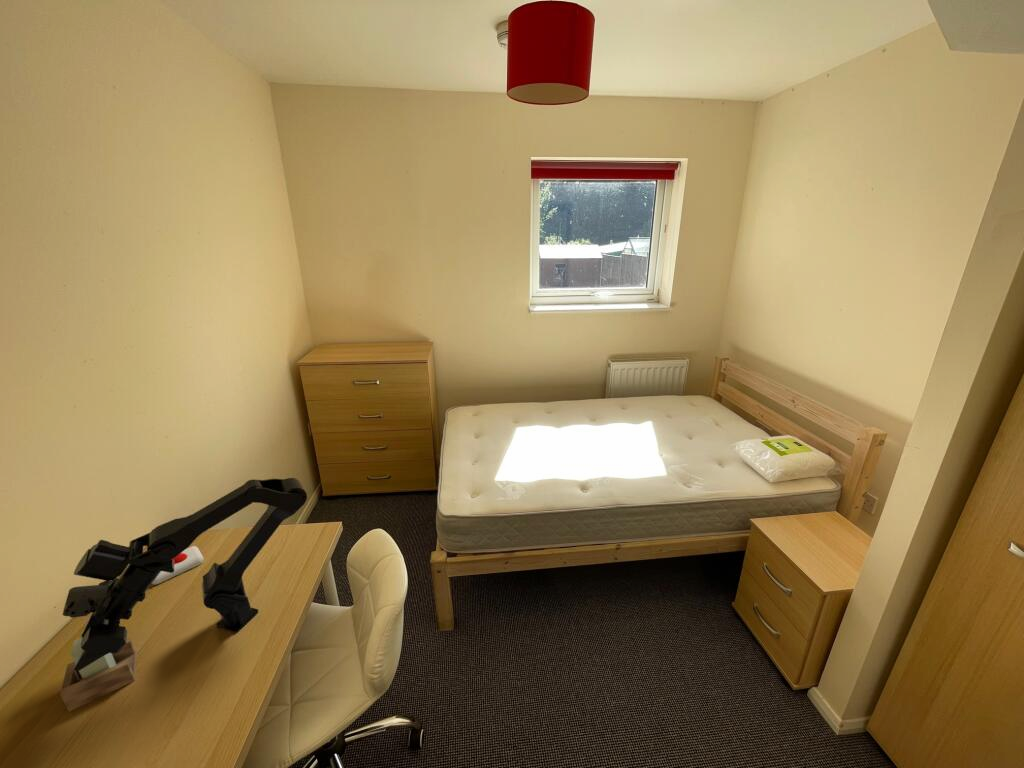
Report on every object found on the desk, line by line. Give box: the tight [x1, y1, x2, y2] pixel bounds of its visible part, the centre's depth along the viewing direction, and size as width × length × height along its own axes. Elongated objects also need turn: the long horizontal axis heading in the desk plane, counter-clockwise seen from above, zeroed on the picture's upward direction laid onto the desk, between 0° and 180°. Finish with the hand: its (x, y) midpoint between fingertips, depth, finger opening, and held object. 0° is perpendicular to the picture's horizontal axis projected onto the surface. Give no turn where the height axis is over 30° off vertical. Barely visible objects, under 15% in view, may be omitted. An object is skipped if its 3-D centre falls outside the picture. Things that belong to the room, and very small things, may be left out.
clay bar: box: [70, 637, 116, 680], centre depth 88 cm, size 4×4×10 cm
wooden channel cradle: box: [59, 637, 137, 713], centre depth 89 cm, size 10×8×5 cm
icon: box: [151, 545, 205, 586], centre depth 121 cm, size 12×4×10 cm
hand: (80, 652), depth 86 cm, fingers open, 9 cm apart
